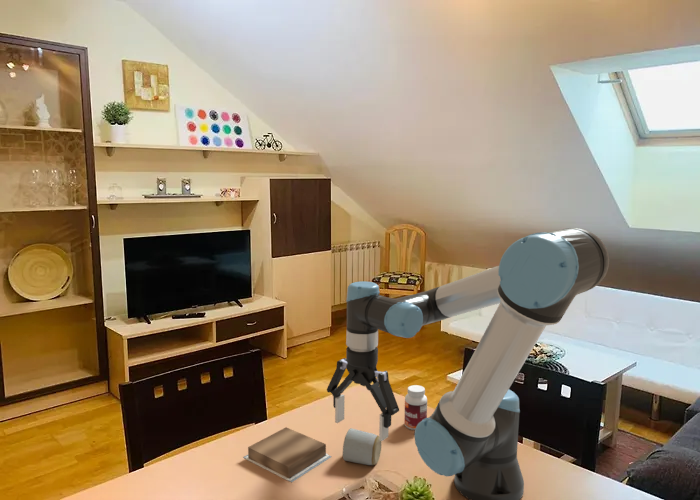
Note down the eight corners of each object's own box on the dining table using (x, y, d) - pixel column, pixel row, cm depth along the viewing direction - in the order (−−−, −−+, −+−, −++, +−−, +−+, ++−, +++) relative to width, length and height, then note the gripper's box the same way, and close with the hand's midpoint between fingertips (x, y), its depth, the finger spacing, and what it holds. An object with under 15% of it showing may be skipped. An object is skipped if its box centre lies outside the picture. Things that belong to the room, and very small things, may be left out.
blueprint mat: (332, 457, 133) (332, 455, 133) (291, 483, 122) (291, 482, 122) (284, 436, 143) (283, 434, 143) (242, 458, 132) (242, 457, 132)
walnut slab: (325, 455, 133) (325, 444, 133) (288, 478, 123) (288, 466, 123) (286, 437, 142) (286, 427, 141) (248, 458, 132) (248, 447, 131)
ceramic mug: (374, 472, 126) (375, 441, 125) (341, 466, 129) (341, 436, 128) (385, 450, 136) (386, 422, 135) (355, 445, 139) (355, 417, 138)
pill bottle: (399, 425, 149) (400, 388, 147) (414, 418, 153) (414, 382, 152) (416, 433, 145) (417, 395, 143) (431, 426, 149) (432, 388, 147)
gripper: (415, 354, 123) (412, 440, 126) (332, 331, 138) (332, 408, 142) (396, 363, 117) (394, 453, 120) (312, 339, 132) (313, 419, 136)
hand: (361, 429), depth 131 cm, fingers open, 13 cm apart
